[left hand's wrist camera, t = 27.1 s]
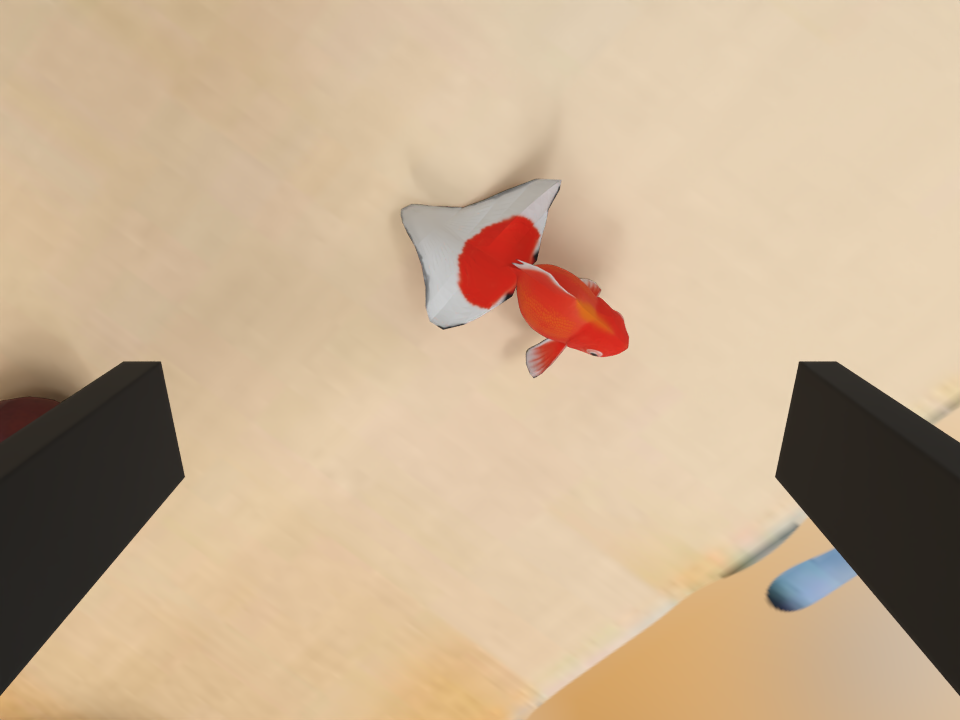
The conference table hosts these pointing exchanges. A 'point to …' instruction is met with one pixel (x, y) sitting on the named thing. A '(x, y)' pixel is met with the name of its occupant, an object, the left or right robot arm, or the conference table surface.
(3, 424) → the dark maroon ball
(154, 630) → the conference table surface
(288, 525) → the conference table surface
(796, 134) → the conference table surface
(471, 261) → the fish
